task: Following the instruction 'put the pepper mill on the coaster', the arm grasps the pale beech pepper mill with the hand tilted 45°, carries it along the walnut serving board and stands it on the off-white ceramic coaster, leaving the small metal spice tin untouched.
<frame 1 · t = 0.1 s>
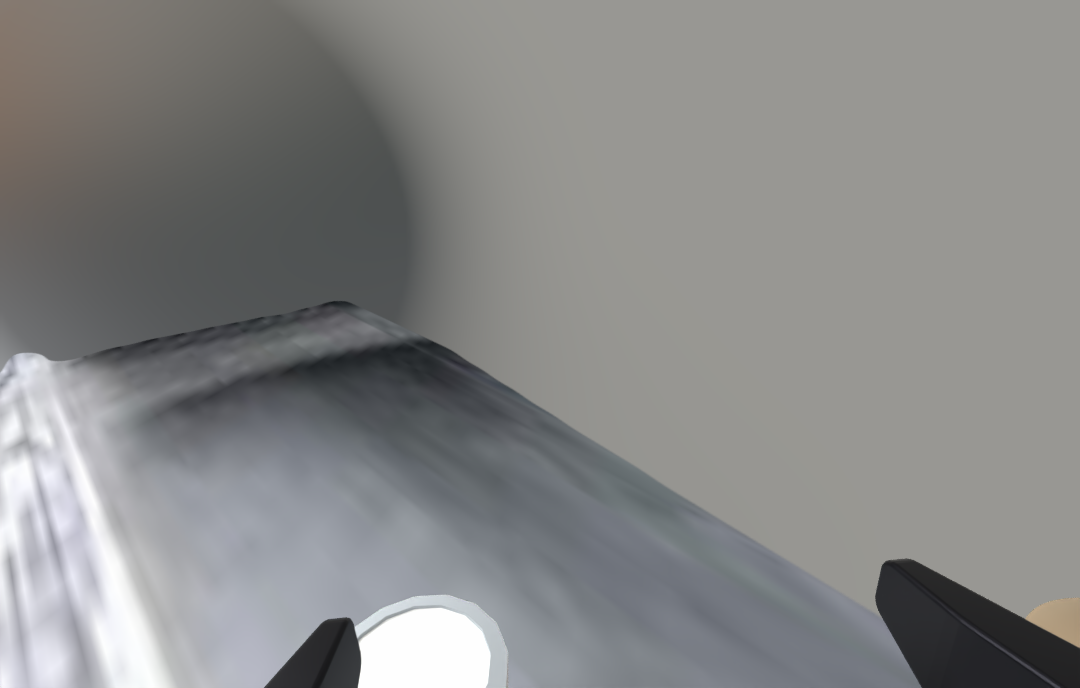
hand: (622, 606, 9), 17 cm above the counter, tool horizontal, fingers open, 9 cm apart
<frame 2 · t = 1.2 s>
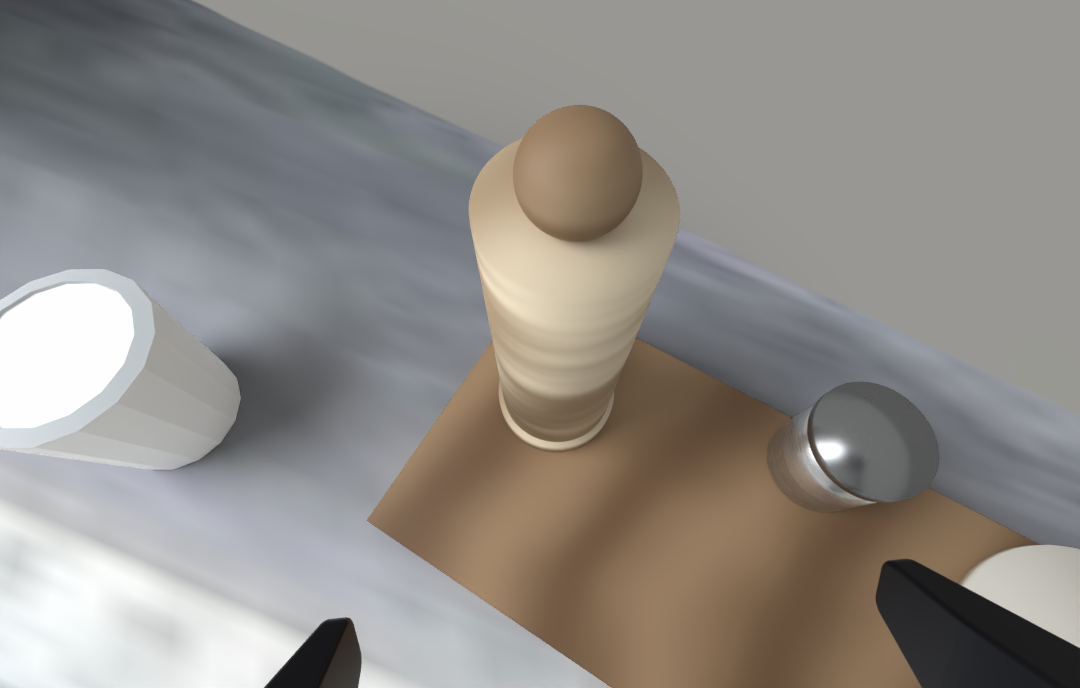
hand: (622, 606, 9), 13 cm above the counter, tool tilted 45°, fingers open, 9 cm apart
pepper mill: (555, 396, 23), point 1 cm above the counter, touching serving board
white cup: (182, 411, 24), on the counter
spice tin: (814, 463, 22), point 1 cm above the counter, touching serving board
serving board: (809, 603, 21), on the counter
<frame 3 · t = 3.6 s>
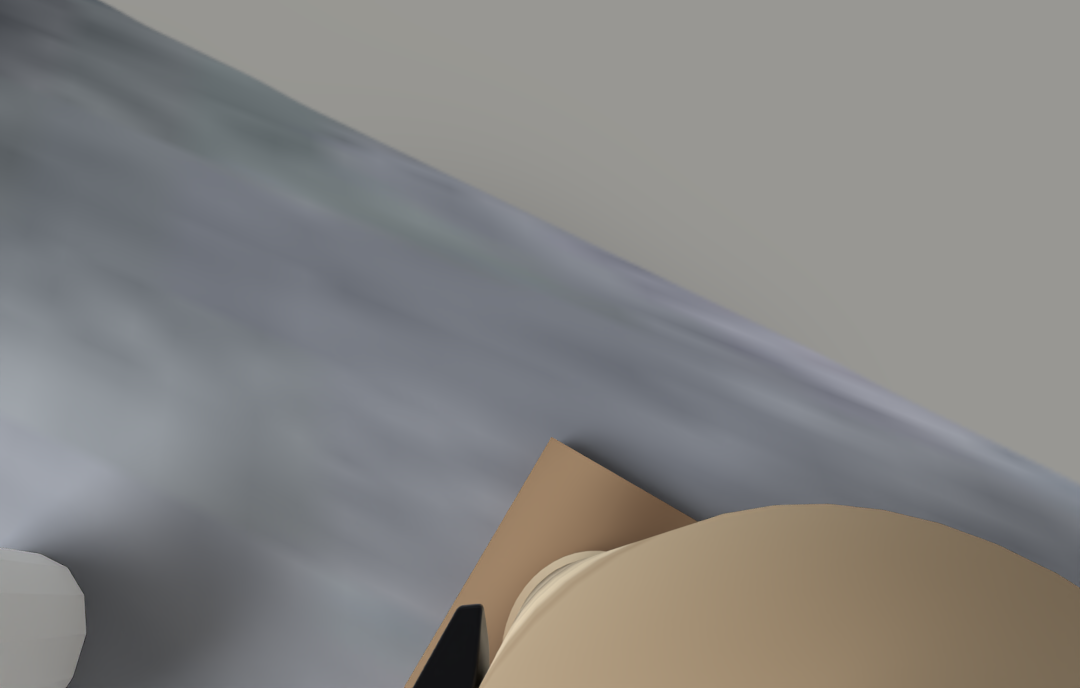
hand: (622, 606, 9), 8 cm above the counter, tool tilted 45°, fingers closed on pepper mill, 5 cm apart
pepper mill: (595, 651, 14), point 1 cm above the counter, touching gripper, serving board
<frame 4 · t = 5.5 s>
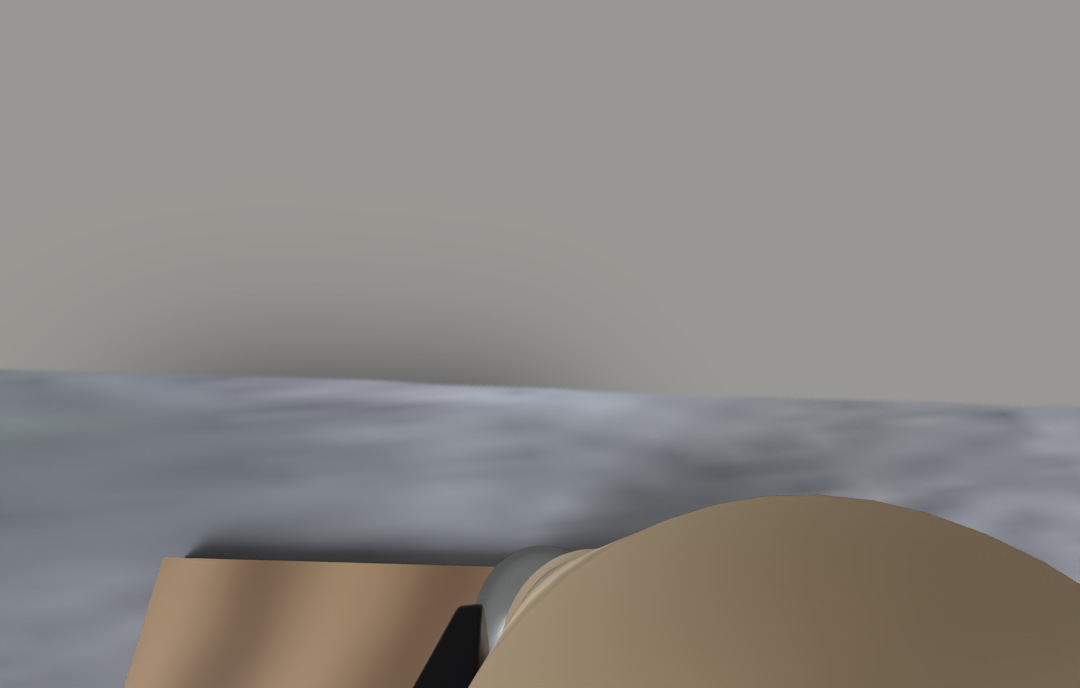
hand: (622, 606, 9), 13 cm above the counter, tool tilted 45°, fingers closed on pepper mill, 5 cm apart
pepper mill: (594, 649, 14), point 7 cm above the counter, touching gripper
spice tin: (541, 609, 19), point 1 cm above the counter, touching serving board
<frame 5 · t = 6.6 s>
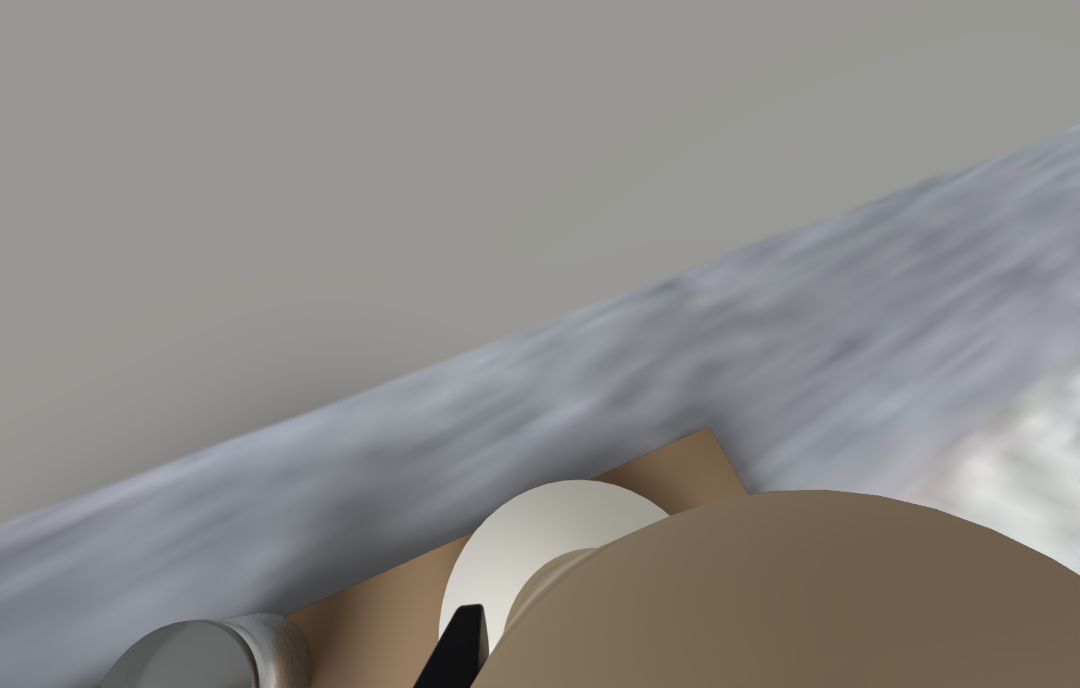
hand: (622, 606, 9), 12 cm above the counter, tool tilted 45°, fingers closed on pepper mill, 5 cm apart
coaster: (581, 625, 18), resting on serving board
pepper mill: (595, 648, 14), point 6 cm above the counter, touching gripper
spice tin: (253, 678, 18), point 1 cm above the counter, touching serving board
when the fingers open (9 cm above the counter, at t = 7.4 s): pepper mill stays where it is, resting on coaster.
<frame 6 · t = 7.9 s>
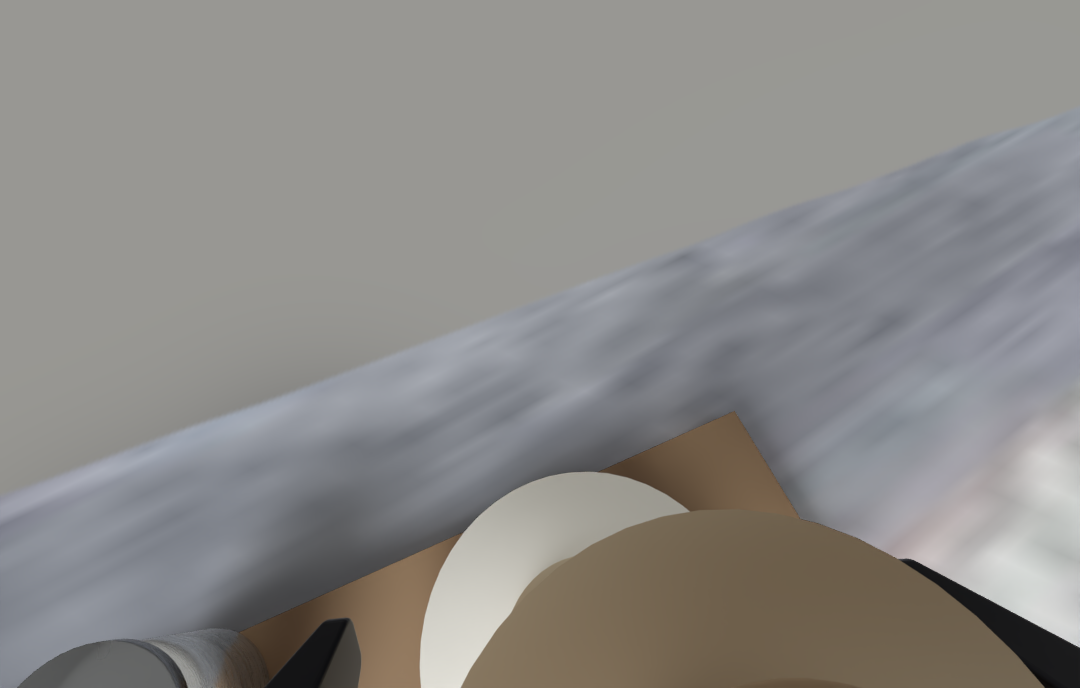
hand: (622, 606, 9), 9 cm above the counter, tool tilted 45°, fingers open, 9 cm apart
coaster: (589, 642, 15), resting on serving board
pepper mill: (591, 649, 15), point 2 cm above the counter, touching coaster
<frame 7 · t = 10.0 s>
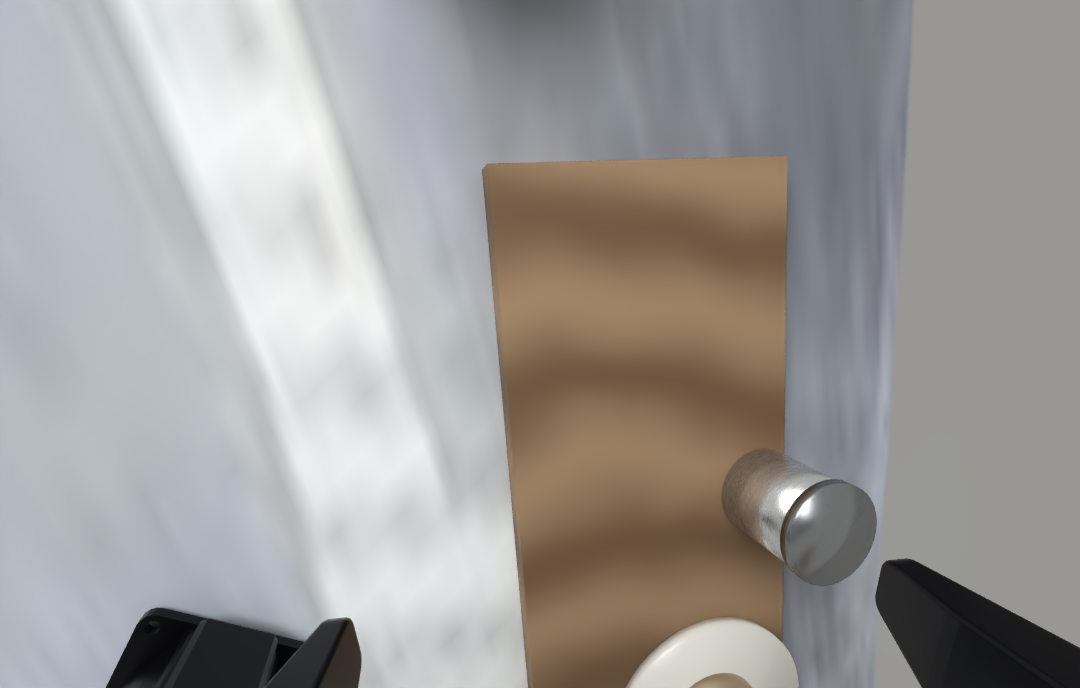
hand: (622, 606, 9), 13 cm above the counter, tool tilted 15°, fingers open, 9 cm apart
spice tin: (758, 489, 24), point 1 cm above the counter, touching serving board
serving board: (650, 538, 24), on the counter
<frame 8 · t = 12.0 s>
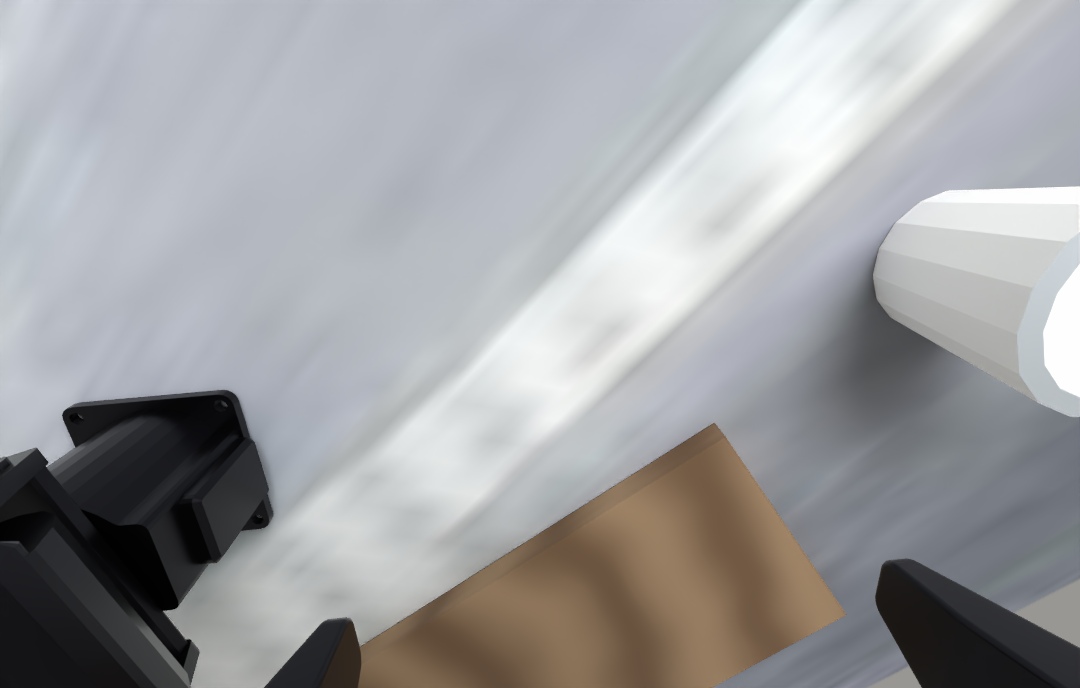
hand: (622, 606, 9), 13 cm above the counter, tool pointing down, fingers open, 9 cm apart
white cup: (936, 260, 21), on the counter
serving board: (498, 680, 27), on the counter
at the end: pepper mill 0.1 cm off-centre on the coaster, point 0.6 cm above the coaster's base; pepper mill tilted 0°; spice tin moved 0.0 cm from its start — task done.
